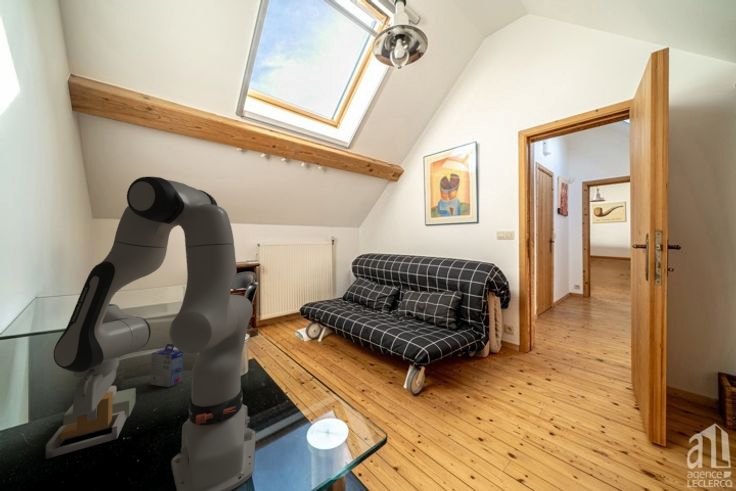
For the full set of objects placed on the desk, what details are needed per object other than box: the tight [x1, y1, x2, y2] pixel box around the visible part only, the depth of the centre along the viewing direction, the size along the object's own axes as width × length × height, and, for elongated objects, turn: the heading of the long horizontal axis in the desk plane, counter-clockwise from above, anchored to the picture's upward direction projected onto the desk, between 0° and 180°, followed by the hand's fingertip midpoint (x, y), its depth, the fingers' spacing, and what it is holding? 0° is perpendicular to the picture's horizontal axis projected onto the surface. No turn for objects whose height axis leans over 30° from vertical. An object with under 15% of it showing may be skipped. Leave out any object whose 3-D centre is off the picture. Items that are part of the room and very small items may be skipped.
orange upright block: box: [60, 392, 113, 439], centre depth 72 cm, size 4×9×8 cm, turn 122°
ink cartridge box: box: [149, 343, 184, 388], centre depth 103 cm, size 10×6×14 cm, turn 78°
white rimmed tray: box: [45, 385, 137, 460], centre depth 77 cm, size 20×14×8 cm
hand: (95, 413), depth 73 cm, fingers closed on orange upright block, 4 cm apart
